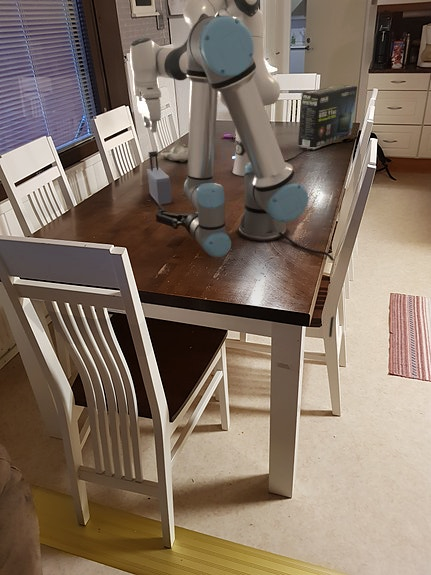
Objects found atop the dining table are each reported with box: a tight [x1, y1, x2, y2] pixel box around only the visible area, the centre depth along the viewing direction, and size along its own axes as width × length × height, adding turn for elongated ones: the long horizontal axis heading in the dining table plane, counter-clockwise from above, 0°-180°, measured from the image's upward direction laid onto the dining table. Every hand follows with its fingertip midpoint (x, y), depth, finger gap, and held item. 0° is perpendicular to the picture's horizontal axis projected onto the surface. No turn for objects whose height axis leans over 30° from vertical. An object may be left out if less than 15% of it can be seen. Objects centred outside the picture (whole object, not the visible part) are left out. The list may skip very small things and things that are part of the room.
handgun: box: [222, 133, 236, 139], centre depth 255 cm, size 21×8×2 cm, turn 11°
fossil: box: [160, 142, 188, 163], centre depth 229 cm, size 18×11×15 cm
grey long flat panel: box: [146, 150, 171, 183], centre depth 174 cm, size 14×5×8 cm, turn 21°
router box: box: [297, 84, 358, 151], centre depth 238 cm, size 36×11×27 cm, turn 134°
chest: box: [146, 172, 173, 206], centre depth 179 cm, size 14×5×9 cm, turn 21°
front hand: (178, 204), depth 156 cm, fingers open, 13 cm apart
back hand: (150, 129), depth 172 cm, fingers open, 8 cm apart
